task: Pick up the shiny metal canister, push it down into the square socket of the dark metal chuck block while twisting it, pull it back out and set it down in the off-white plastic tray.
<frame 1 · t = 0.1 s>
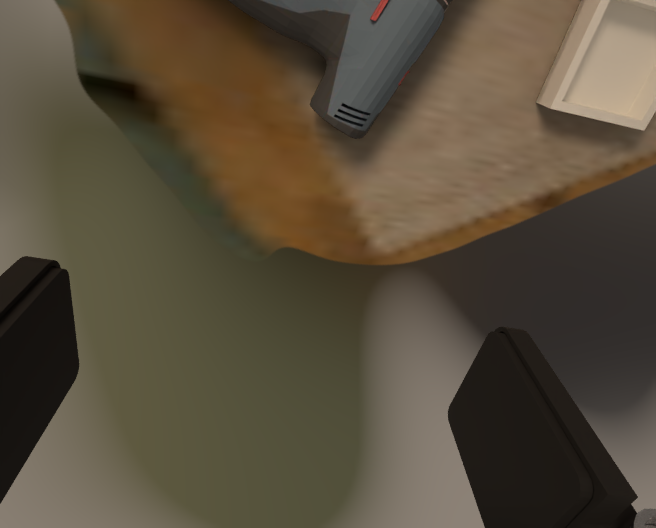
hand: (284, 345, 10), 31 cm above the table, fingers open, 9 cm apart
tray: (608, 58, 36), on the table
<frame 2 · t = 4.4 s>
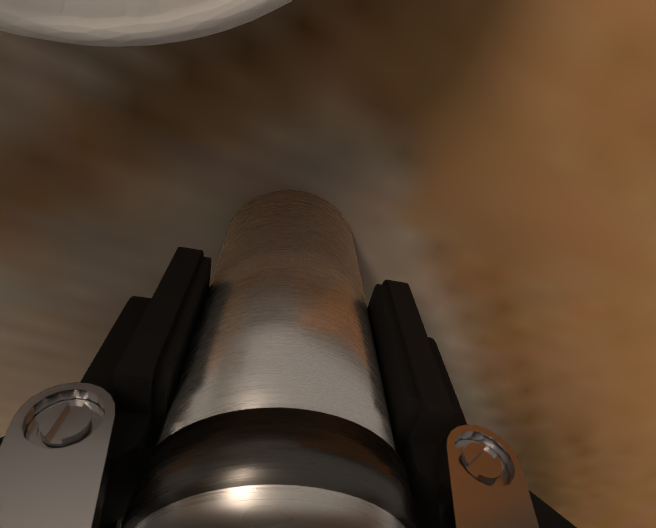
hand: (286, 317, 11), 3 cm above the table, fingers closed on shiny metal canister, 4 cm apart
shiny metal canister: (290, 250, 13), on the table, touching gripper
when the fingers open (5 cm above the table, at t = 12.2 s): shiny metal canister stays where it is, resting on tray.
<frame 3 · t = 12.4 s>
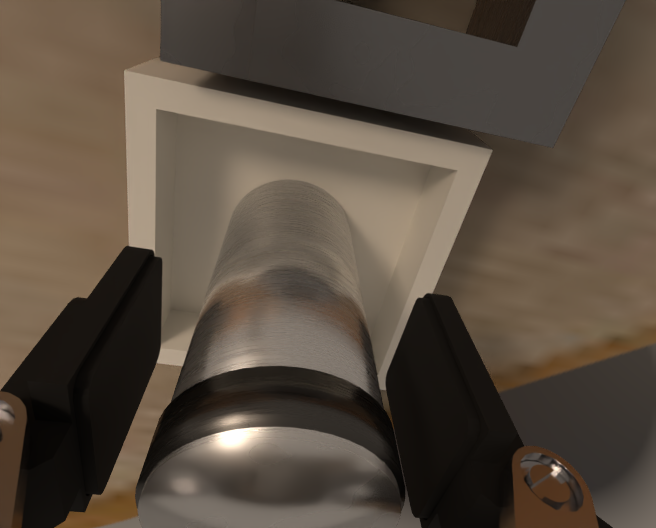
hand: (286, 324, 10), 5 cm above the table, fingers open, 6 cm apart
shiny metal canister: (289, 236, 14), point 1 cm above the table, touching tray
tray: (291, 228, 15), on the table
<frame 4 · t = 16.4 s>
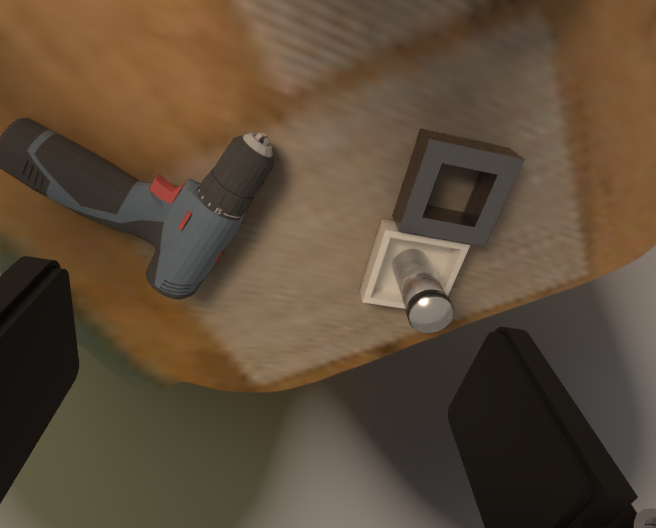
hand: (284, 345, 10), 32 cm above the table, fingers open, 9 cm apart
chuck block: (448, 183, 42), on the table
shiny metal canister: (410, 264, 46), point 1 cm above the table, touching tray
power drill: (150, 163, 41), on the table
tray: (409, 261, 47), on the table
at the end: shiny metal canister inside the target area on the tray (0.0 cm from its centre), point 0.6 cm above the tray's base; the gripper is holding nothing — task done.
